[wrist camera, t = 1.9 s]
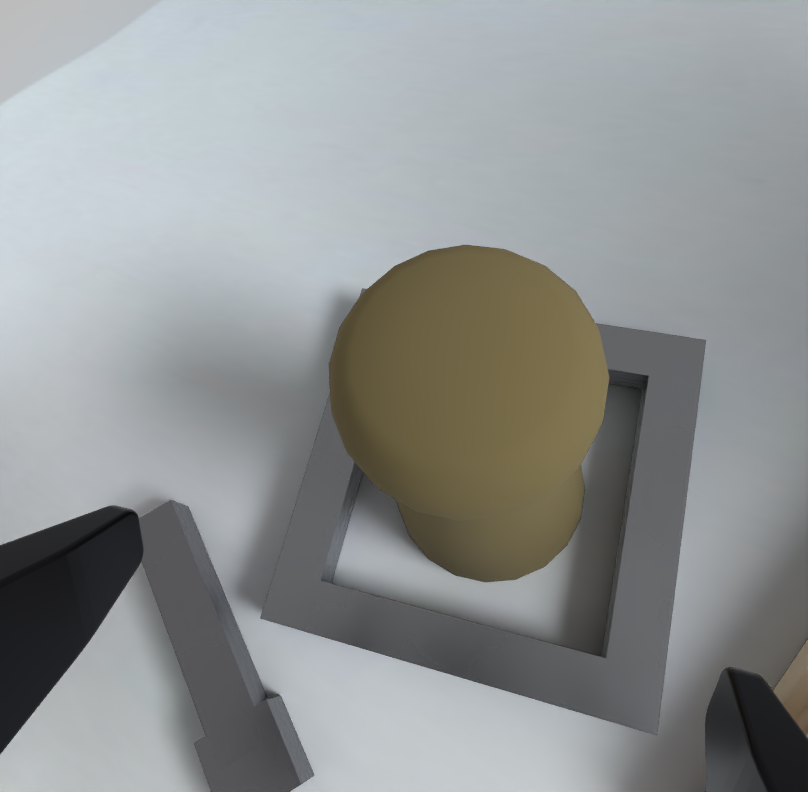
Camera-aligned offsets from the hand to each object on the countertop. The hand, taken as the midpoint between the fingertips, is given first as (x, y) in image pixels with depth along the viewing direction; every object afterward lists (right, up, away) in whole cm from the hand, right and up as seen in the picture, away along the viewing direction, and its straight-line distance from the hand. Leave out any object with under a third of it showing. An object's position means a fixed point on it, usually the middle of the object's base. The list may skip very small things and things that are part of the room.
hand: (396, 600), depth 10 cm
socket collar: (+3, 0, +11) cm, 12 cm away
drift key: (-6, -4, +11) cm, 13 cm away
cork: (+3, 0, +11) cm, 12 cm away
